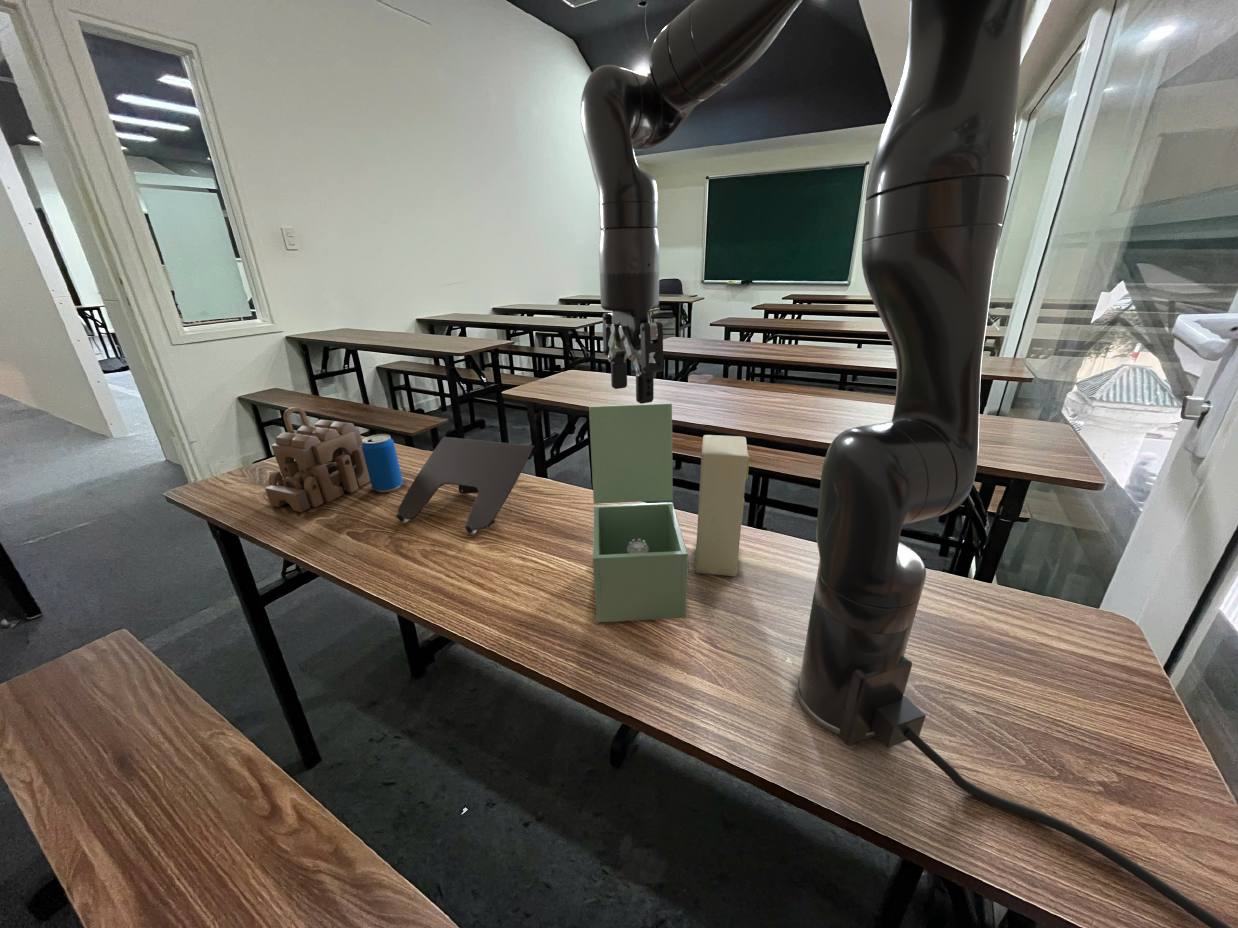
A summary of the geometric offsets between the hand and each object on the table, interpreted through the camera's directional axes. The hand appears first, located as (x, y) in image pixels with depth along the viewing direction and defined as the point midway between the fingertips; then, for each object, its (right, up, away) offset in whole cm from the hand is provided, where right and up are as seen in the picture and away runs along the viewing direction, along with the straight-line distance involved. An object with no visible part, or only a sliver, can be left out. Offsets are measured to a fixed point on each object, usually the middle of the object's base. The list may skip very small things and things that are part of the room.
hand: (631, 394), depth 67 cm
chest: (+1, -29, +8) cm, 30 cm away
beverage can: (-55, -15, +43) cm, 71 cm away
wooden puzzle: (-69, -15, +44) cm, 83 cm away
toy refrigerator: (+15, -26, +13) cm, 33 cm away
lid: (0, -8, +7) cm, 11 cm away
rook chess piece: (+1, -29, +6) cm, 29 cm away
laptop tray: (-34, -19, +34) cm, 51 cm away
